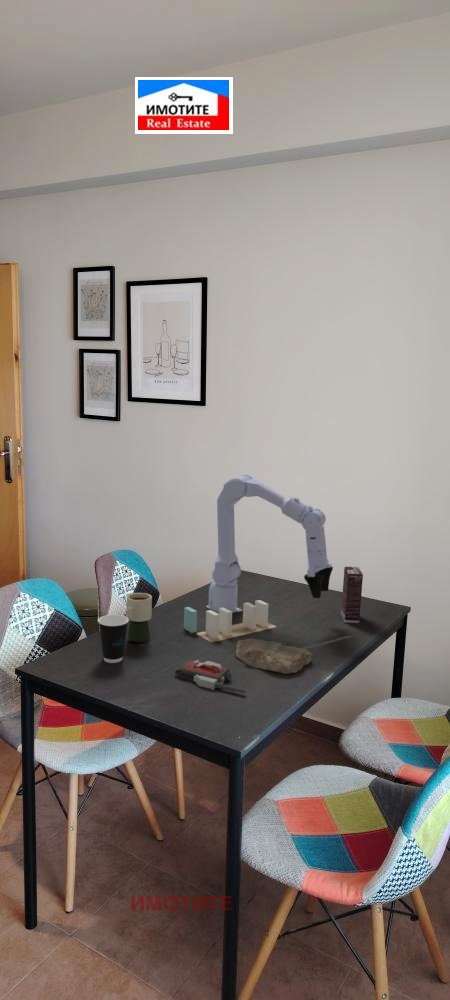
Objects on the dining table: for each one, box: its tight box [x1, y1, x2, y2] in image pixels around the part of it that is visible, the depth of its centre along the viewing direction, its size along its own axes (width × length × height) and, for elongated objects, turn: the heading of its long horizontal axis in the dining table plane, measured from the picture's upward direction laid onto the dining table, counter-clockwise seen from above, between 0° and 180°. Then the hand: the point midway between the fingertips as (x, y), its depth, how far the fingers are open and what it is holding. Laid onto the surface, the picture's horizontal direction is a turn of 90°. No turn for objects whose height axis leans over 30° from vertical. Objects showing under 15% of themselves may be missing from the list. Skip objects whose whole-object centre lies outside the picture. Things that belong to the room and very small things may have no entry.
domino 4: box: [254, 599, 270, 627], centre depth 212 cm, size 2×4×7 cm, turn 36°
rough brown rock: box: [235, 638, 313, 675], centre depth 188 cm, size 14×5×20 cm
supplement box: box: [340, 566, 364, 624], centre depth 221 cm, size 9×5×16 cm, turn 179°
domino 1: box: [205, 609, 220, 639], centre depth 202 cm, size 2×4×7 cm, turn 36°
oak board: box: [195, 622, 277, 643], centre depth 207 cm, size 8×24×1 cm, turn 126°
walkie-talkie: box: [174, 659, 246, 694], centre depth 174 cm, size 9×4×20 cm
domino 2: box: [218, 607, 233, 636], centre depth 204 cm, size 2×4×7 cm, turn 36°
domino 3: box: [242, 601, 257, 630], centre depth 209 cm, size 2×4×7 cm, turn 36°
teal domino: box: [183, 606, 198, 634], centre depth 205 cm, size 2×4×7 cm, turn 36°
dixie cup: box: [97, 614, 130, 664], centre depth 184 cm, size 8×8×11 cm
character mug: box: [125, 592, 153, 643], centre depth 197 cm, size 11×7×13 cm, turn 154°
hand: (320, 594), depth 212 cm, fingers open, 7 cm apart
